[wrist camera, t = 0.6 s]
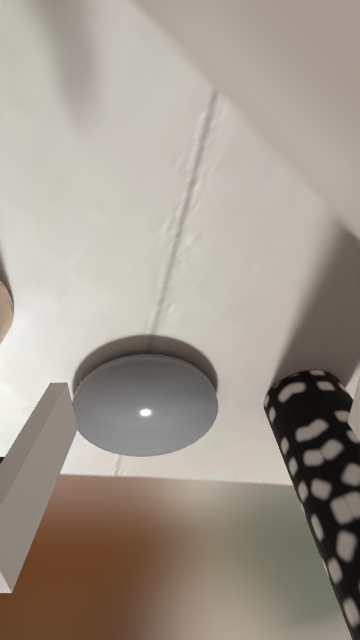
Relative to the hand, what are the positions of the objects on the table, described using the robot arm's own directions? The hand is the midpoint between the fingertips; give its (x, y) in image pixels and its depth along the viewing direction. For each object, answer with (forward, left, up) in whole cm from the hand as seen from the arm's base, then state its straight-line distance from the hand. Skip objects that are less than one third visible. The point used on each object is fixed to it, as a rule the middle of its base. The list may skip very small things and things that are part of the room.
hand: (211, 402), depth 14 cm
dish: (+13, -6, -12) cm, 18 cm away
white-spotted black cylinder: (+17, +10, -12) cm, 23 cm away
